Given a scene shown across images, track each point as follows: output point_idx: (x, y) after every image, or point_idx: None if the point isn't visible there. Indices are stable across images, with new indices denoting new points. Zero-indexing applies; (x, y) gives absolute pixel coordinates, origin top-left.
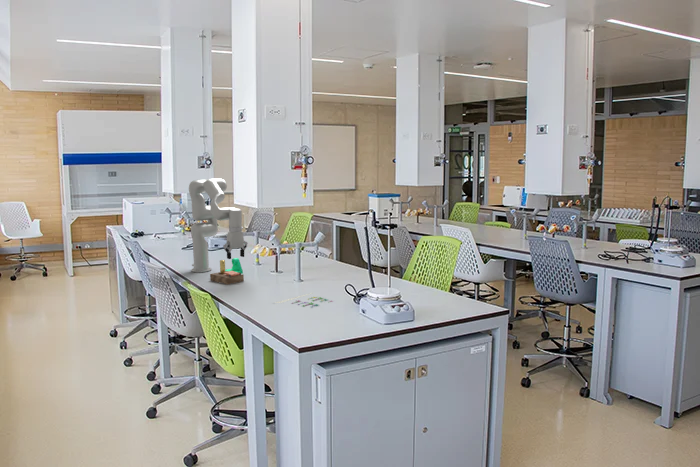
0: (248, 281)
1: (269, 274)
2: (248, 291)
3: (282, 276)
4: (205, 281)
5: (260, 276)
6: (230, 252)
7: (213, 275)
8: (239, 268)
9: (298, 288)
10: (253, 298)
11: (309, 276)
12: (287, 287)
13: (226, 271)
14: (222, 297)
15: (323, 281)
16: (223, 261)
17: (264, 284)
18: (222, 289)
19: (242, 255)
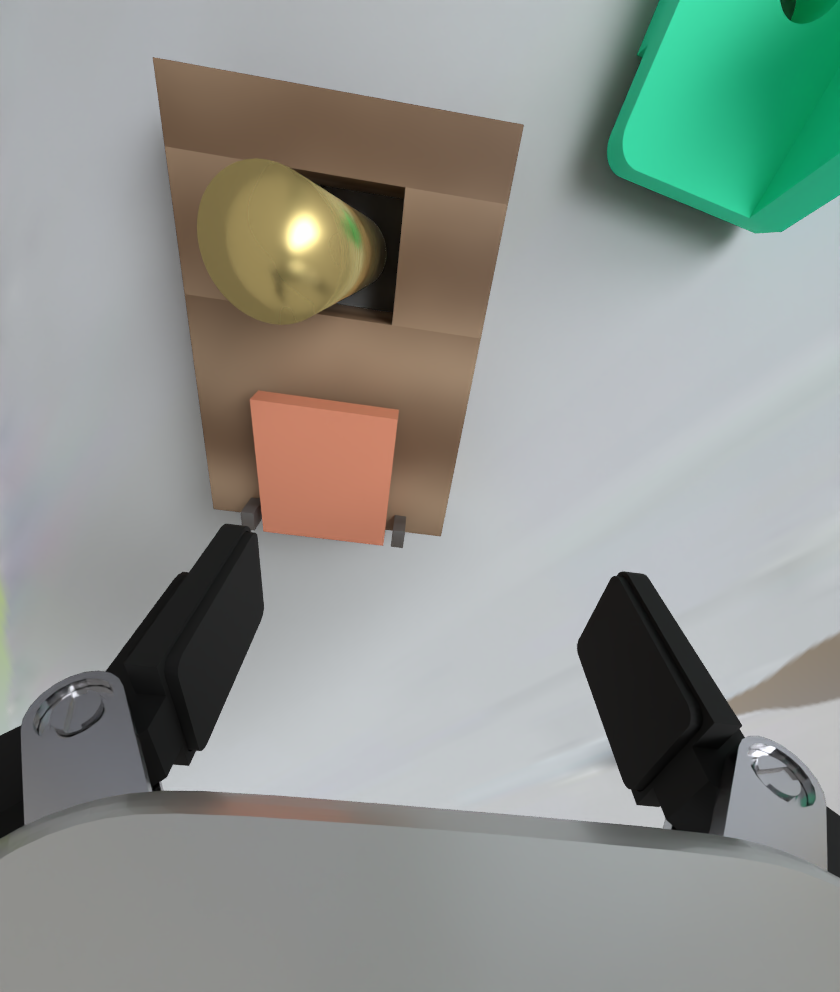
0: (451, 537)
1: (823, 492)
2: (228, 704)
3: (746, 621)
4: (119, 87)
5: (698, 484)
6: (179, 759)
7: (178, 192)
8: (809, 170)
9: (453, 808)
10: (161, 781)
11: (784, 732)
12: (442, 776)
13: (486, 167)
14: (22, 689)
15: (656, 814)
16: (266, 319)
17: (433, 672)
18: (113, 565)
19: (593, 652)
